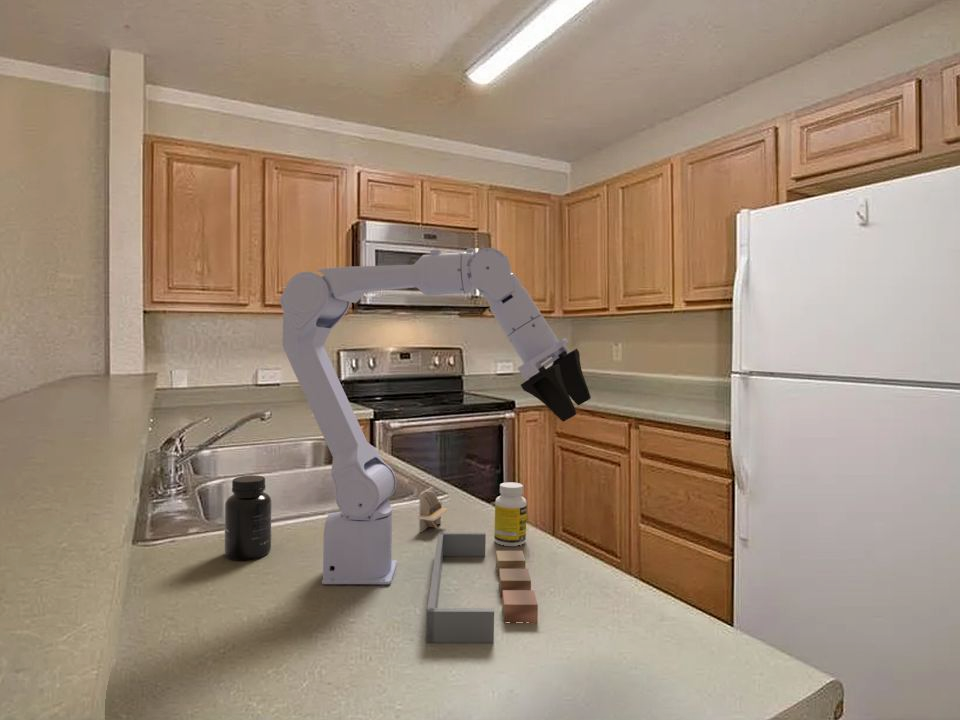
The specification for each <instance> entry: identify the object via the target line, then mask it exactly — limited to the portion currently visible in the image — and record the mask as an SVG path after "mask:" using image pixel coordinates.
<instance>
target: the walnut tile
mask: <svg viewBox="0 0 960 720" xmlns="http://www.w3.org/2000/svg"><path fill="white" fill-rule="evenodd" d="M498 588H500V589H499V594H500V595H499V596H500V598H501V597H502V593H503V590H532V580H531V576H530V572H529V568H525V569H499V576H498Z"/></svg>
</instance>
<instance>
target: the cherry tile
mask: <svg viewBox="0 0 960 720" xmlns="http://www.w3.org/2000/svg"><path fill="white" fill-rule="evenodd" d="M501 607H502V608H501V609H503V610H502V615H503V616H502V617H504V618H503V623H504V624H506V623H505V622H510V623H509V624H517V623H516V622H523V623H522V624H527V623H526V622H529V623H528V624H532V623H537V624H538V622H539V621H538V620H539V619H538V618H539V617H538V614H539V611H538V610H539V604H538V601H537V597H536V593H535V590H532V589H531V590H503V593H502V604H501Z"/></svg>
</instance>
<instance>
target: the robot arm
mask: <svg viewBox="0 0 960 720" xmlns="http://www.w3.org/2000/svg"><path fill="white" fill-rule="evenodd" d="M429 253H430V254H423V255H421V256H420V257H419V258H418V260H416V262H414V264H399V265H398V264H395V265H392V264H391V265H361V266H359V265H358V266H356V265H355V266H339V267H325V268H320V269H317V270H316V271H317V272H319V273H320V274H322V276H321V275H319V274H318V273H315V272H314V271H313V272H312V271H301V272H299V273H296V274H295V275H293V276H292V277H291V278H290V279H289V280H288V282H287V284H286V285H285V288H284V289H283V292H282V294H281V296H280V298H279V302H280V306H281V308H282V312H283V316H282V317H283V318H282V323H283V324H282V340H281V342H282V348H283V351H284V352H285V355H286V357H287V359H288V362H289V364H290V365H291V368H292V371H293V373H294V375H295V376H296V379H297V382H298V384H299V386H300V388H301V390H302V392H303V395H304V397H305V399H306V401H307V403H308V406H309V407H310V408H309V409H310V410H311V412H312V414H313V416H314V419H315V421H316V423H317V425H318V428H319V431H320V432H321V434H322V437H323V438H324V439H323V440H324V441H325V443H326V445H327V447H328V449H329V451H330V454H331V456H332V462H331V463H332V464H331V469H330V473H331V474H330V475H331V478H332V480H333V483H334V488H335V489H334V490H335V491H334V498H335V503H336V504H337V505H336V506H337V507H338V509H339V510H340V512H330V513H328V514H327V517H326V519H325V522H324V523H325V524H324V529H323V530H324V531H323V545H322V546H323V550H322V551H323V552H322V553H323V554H322V557H323V558H322V559H323V561H322V564H323V565H322V569H323V570H322V579H321V584H323V585H390V584H391V583H392V581H393V579H394V578H393V577H394V574H395V571H396V568H397V565H398V560H396V559H393V558H392V557H393V556H392V555H393V554H392V553H393V552H392V551H393V550H392V549H393V545H392V543H393V541H392V540H393V507H392V505H391V502H390V498H391V497H392V496H393V494H394V492H395V490H396V489H397V488H396V487H397V477H396V474H395V471H394V470H393V468H392V467H391V466H390V465H389V464H388V463H387V462H385V461H384V460H383V459H382V457H381V455H380V453H379V451H378V450H377V449H376V448H375V447H374V446H373V445H372V444H370V442H369V441H368V440H367V439H366V436H365V434H364V431H363V430H362V428H361V425H360V423H359V420H358V419H357V416H356V414H355V412H354V409H353V407H352V405H351V403H350V401H349V399H348V397H347V394H346V393H345V391H344V388H343V386H342V384H341V382H340V380H339V377H338V375H337V373H336V371H335V368H334V366H333V363H332V362H331V360H330V358H329V356H328V352H327V351H326V349H325V344H326V342H327V339H328V337H329V334H330V333H331V331H332V329H334V327H335V326H336V325H337V324H338V323H339V322H340V321H341V319H342V318H344V316H345V315H346V314H347V312H348V310H349V309H350V305H351V303H353V304H357V303H358V302H359V301H360V299H361V298H363V296H364V295H365V294H366V293H371V292H380V291H381V292H382V291H389V290H391V291H393V290H402V289H411V288H417V289H418V290H419V291H420V292H421V294H423V295H424V296H426V297H427V296H440V295H443V296H444V295H445V296H446V295H458V294H470V293H472V292H473V291H475V290H478V291H479V292H480V293H481V294H482V295H483V297H484V299H485V300H486V302H487V303H488V305H489V310H490V312H491V313H492V315H493V316H494V318H495V320H496V321H497V324H499V326H500V328H501V329H502V331H503V333H504V334H505V336H506V337H507V339H508V340H509V342H510V343H511V346H512V347H513V348H514V351H515V352H516V353H517V354H518V356H519V358H520V359H521V361H522V363H523V364H521V365H520V366H518V367H517V369H518V371H519V373H520V374H521V376H522V378H523V380H524V382H522V383H520V387H521V388H522V390H523V391H524V392H525V393H528V394H530V395H532V396H533V397H535V398H537V400H539V401H540V402H541V403H543V405H545V406H546V407H547V408H548V409H549V410H550V411H551V412H552V413H553V414H554V415H555V416H556V417H557V418H558V419H559V420H560V421H562V422H565V421H567V420H570V419H571V418H573V417H575V416H576V415H577V411H576V407H575V405H574V403H575V404H576V405H577V406H580V405H582V404H584V403H585V402H587V401H589V400H591V399H592V396H591V394H590V393H591V392H590V391H589V388H588V386H587V382H586V380H585V377H584V373H583V370H582V365H581V361H580V360H581V359H580V351H579V349H578V348H577V347H576V348H575V349H573V350H571V351H570V349H569V348H568V346H567V345H566V344H567V343H569V339H568V338H567V337H565V338H563V339H561V340H560V341H559V339H558V338H557V336H556V334H555V333H554V331H553V330H552V328H551V327H550V325H549V323H548V322H547V320H546V319H545V317H544V315H543V314H542V313H541V310H540V309H539V308H538V306H537V304H536V303H535V302H534V300H533V298H532V297H531V295H530V294H529V292H528V290H527V288H525V286H522V282H521V281H520V279H519V278H518V276H517V275H515V274H514V272H512V268H511V263H510V260H509V258H508V256H507V255H505V254H504V253H503V252H502V251H501V250H498V249H497V248H494V247H484V248H480V249H478V251H475V249H474V248H466V251H464V252H448V253H442V251H441V250H440V249H431V250H430V252H429ZM549 365H550V366H549ZM548 366H549V367H548ZM573 402H574V403H573Z"/></svg>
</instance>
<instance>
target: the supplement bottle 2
mask: <svg viewBox="0 0 960 720" xmlns="http://www.w3.org/2000/svg"><path fill="white" fill-rule="evenodd" d="M499 494H500V495H499V496H497V497H496V498H495V504H494V510H495V511H494V533H493V535H494V536H493V537H494V542H495V543H496V544H497V545H499V544H500V546H503V545H504V546H503V547H519V546H518V545H520V546H523V545H524V544H525V543H526V541H527V516H528V515H527V508H528V507H527V506H528V503H527V499H526V498H525V497H523V496H522V495H523V494H524V485H523V484H521V483H520V482H510V481H509V482H508V481H507V482H502V483H500V484H499ZM522 544H523V545H522Z"/></svg>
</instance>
